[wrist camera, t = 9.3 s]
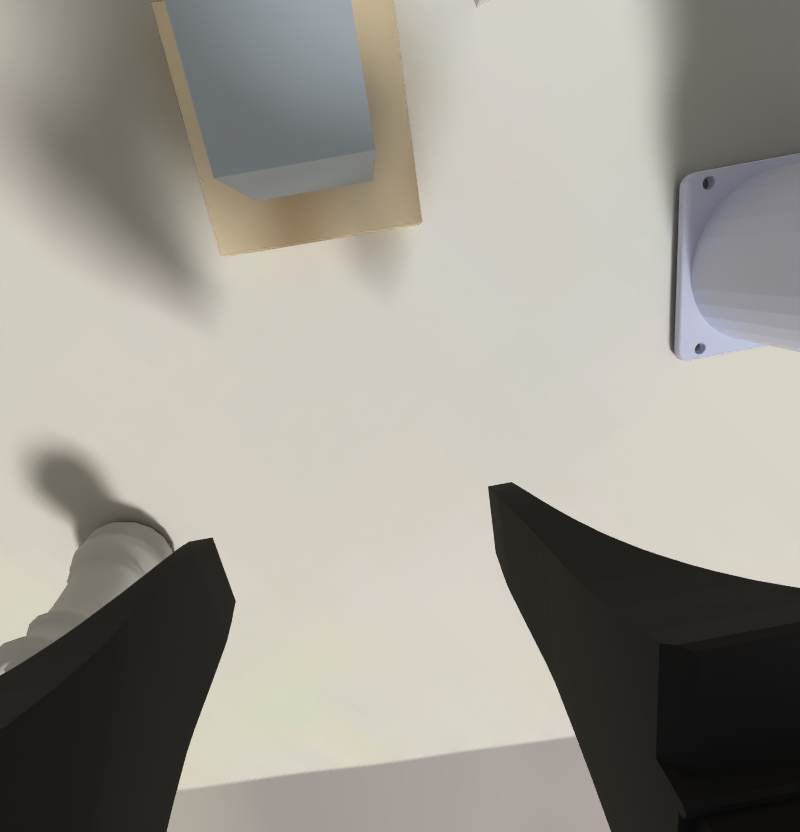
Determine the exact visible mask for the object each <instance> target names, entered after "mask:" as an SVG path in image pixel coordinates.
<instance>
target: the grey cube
mask: <svg viewBox="0 0 800 832" xmlns="http://www.w3.org/2000/svg"><path fill="white" fill-rule="evenodd" d="M474 1H475V5H476V7H478V6H480V5H482V4H484V3H486V2H487V1H489V0H474Z"/></svg>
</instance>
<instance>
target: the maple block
mask: <svg viewBox="0 0 800 832" xmlns="http://www.w3.org/2000/svg"><path fill="white" fill-rule="evenodd" d="M351 3H352V9H353V15H354V21H355V27H356V33H357V39H358V45H359V51H360V58H361V64H362V70H363V76H364V82H365V88H366V94H367V100H368V106H369V112H370V118H371V124H372V131H373V137H374V143H375V149H376V151H375V164H374V177H373V181H367V182H362V183H356V184H351V185H345V186H339V187H334V188H328V189H323V190H317V191H311V192H306V193H300V194H295V195H289V196H283V197H278V198H272V199H267V200H261V201H255V200H253V199H251V198H249V197H247V196H245V195H244V194H242V193H240V192H238V191H236V190H234V189H233V188H231V187H229V186H227V185H225V184H223V183H221V182H220V181H218V180H216V179H214V177H213V174H212V170H211V167H210V163H209V159H208V156H207V152H206V148H205V145H204V141H203V138H202V134H201V130H200V127H199V123H198V120H197V116H196V112H195V109H194V105H193V101H192V98H191V94H190V91H189V87H188V83H187V80H186V76H185V73H184V69H183V65H182V62H181V58H180V54H179V51H178V47H177V44H176V40H175V36H174V33H173V29H172V26H171V22H170V18H169V15H168V11H167V7H166V4H165V0H164V1H157V2H151V4H152V8H153V12H154V15H155V19H156V23H157V26H158V30H159V33H160V37H161V41H162V44H163V48H164V52H165V55H166V59H167V63H168V66H169V70H170V74H171V77H172V81H173V85H174V88H175V92H176V96H177V99H178V103H179V107H180V110H181V114H182V117H183V121H184V125H185V128H186V132H187V136H188V139H189V143H190V147H191V150H192V154H193V158H194V161H195V165H196V169H197V172H198V176H199V180H200V183H201V187H202V190H203V194H204V198H205V201H206V205H207V209H208V212H209V216H210V220H211V223H212V227H213V231H214V234H215V238H216V242H217V245H218V249H219V253H220V255H221V256H233V255H239V254H245V253H251V252H257V251H264V250H270V249H276V248H282V247H288V246H294V245H300V244H306V243H312V242H318V241H324V240H330V239H336V238H342V237H348V236H354V235H360V234H366V233H372V232H378V231H384V230H390V229H396V228H402V227H408V226H414V225H419V224H420V223H421V222H422V217H421V209H420V202H419V194H418V186H417V179H416V171H415V163H414V156H413V148H412V140H411V132H410V125H409V117H408V109H407V102H406V94H405V86H404V79H403V71H402V63H401V56H400V48H399V40H398V33H397V25H396V17H395V9H394V2H393V0H351Z"/></svg>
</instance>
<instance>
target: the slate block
mask: <svg viewBox="0 0 800 832" xmlns="http://www.w3.org/2000/svg"><path fill="white" fill-rule="evenodd" d="M165 4H166V7H167V11H168V15H169V18H170V22H171V26H172V29H173V33H174V36H175V40H176V44H177V47H178V51H179V54H180V58H181V62H182V65H183V69H184V73H185V76H186V80H187V83H188V87H189V91H190V94H191V98H192V101H193V105H194V109H195V112H196V116H197V120H198V123H199V127H200V130H201V134H202V138H203V141H204V145H205V148H206V152H207V156H208V159H209V163H210V167H211V170H212V174H213V177H214V179H216V180H218V181H220V182H221V183H223V184H225V185H227V186H229V187H231V188H233V189H234V190H236V191H238V192H240V193H242V194H244V195H245V196H247V197H249V198H251V199H253V200H255V201H261V200H267V199H272V198H278V197H283V196H289V195H295V194H300V193H306V192H311V191H317V190H323V189H328V188H334V187H339V186H345V185H351V184H356V183H362V182H367V181H373V177H374V164H375V151H376V149H375V143H374V137H373V131H372V124H371V118H370V112H369V106H368V100H367V94H366V88H365V82H364V76H363V70H362V64H361V58H360V51H359V45H358V39H357V33H356V27H355V21H354V15H353V9H352V3H351V0H165Z"/></svg>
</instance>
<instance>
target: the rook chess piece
mask: <svg viewBox="0 0 800 832" xmlns="http://www.w3.org/2000/svg"><path fill="white" fill-rule="evenodd" d="M172 553H173V551H172V549H171V548H170V546H169V544H168V543H167V541H166V540H165V538H164V537H163V536H162V535H161V534H159V533H158V532H157V531H155V530H154V529H153V528H151V527H148V526H145V525H142V524H139V523H135V522H112V523H109V524H107V525H104V526H101V527H99V528H96V529H95V530H94V531H93V532H92V533H91V534H90V535H89V536H88V537H87V538H86V540H85V542H84V543H83V544H82V545H81V546H80V547H79V548H78V549H77V550H76V552H75V554H74V556H73V560H72V563H71V566H70V574H69V577H68V580H67V583H68V585H67V586H66V588H65V589H64V591H63V592H62V594H61V595H60V597H59V598H58V600H57V601H56V603H55V604H54V606H53V607H52V608H51V609H50V610H49V612H48V613H45V614H43V615H40V616H38V617H37V618H36V619H34V620H33V621H32V622H31V623H30V624H29V628H28V631H27V636H25V637H21V638H18V639H15V640H12V641H9V642H7V643H4V644H3V645H2V646H1V647H0V675H2V674H4V673H5V672H7V671H9V670H10V669H12V668H14V667H16V666H17V665H19V664H20V663H22V662H24V661H25V660H27V659H28V658H30V657H31V656H33V655H35V654H36V653H38V652H39V651H41V650H42V649H44V648H45V647H47V646H48V645H50V644H52V643H53V642H55V641H56V640H58V639H59V638H60V637H62V636H63V635H65V634H66V633H68V632H69V631H71V630H72V629H73V628H75V627H76V626H78V625H79V624H80V623H82V622H83V621H85V620H86V619H87V618H89V617H90V616H91V615H93V614H94V613H95V612H97V611H98V610H99V609H101V608H102V607H103V606H105V605H106V604H107V603H109V602H110V601H111V600H113V599H114V598H115V597H117V596H118V595H119V594H121V593H122V592H123V591H125V590H126V589H127V588H128V587H130V586H131V585H132V584H133V583H135V582H136V581H137V580H139V579H140V578H141V577H142V576H144V575H145V574H146V573H147V572H149V571H150V570H151V569H153V568H154V567H155V566H156V565H158V564H159V563H160V562H161V561H163V560H164V559H165V558H167V557H168V556H169V555H171V554H172Z"/></svg>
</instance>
